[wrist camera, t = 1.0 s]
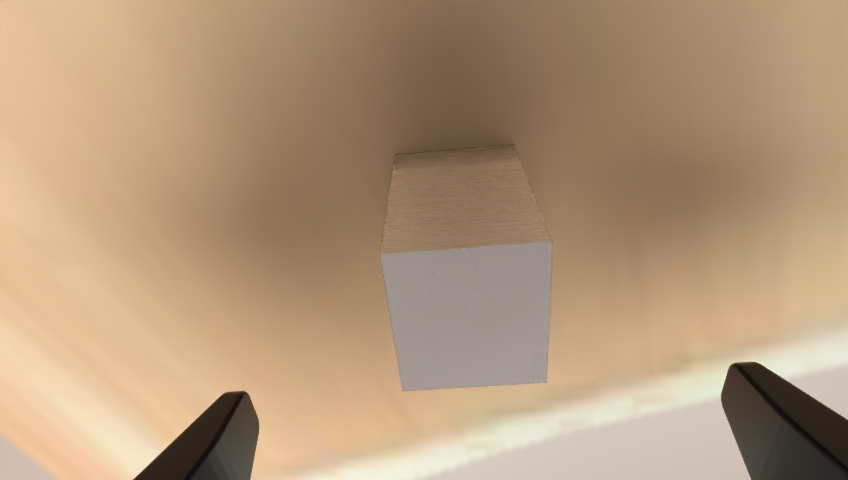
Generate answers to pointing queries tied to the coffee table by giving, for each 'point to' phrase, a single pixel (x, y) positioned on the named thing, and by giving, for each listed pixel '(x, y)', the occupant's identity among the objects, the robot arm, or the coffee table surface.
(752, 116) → the coffee table surface
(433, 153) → the grey stepped block
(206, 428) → the robot arm
